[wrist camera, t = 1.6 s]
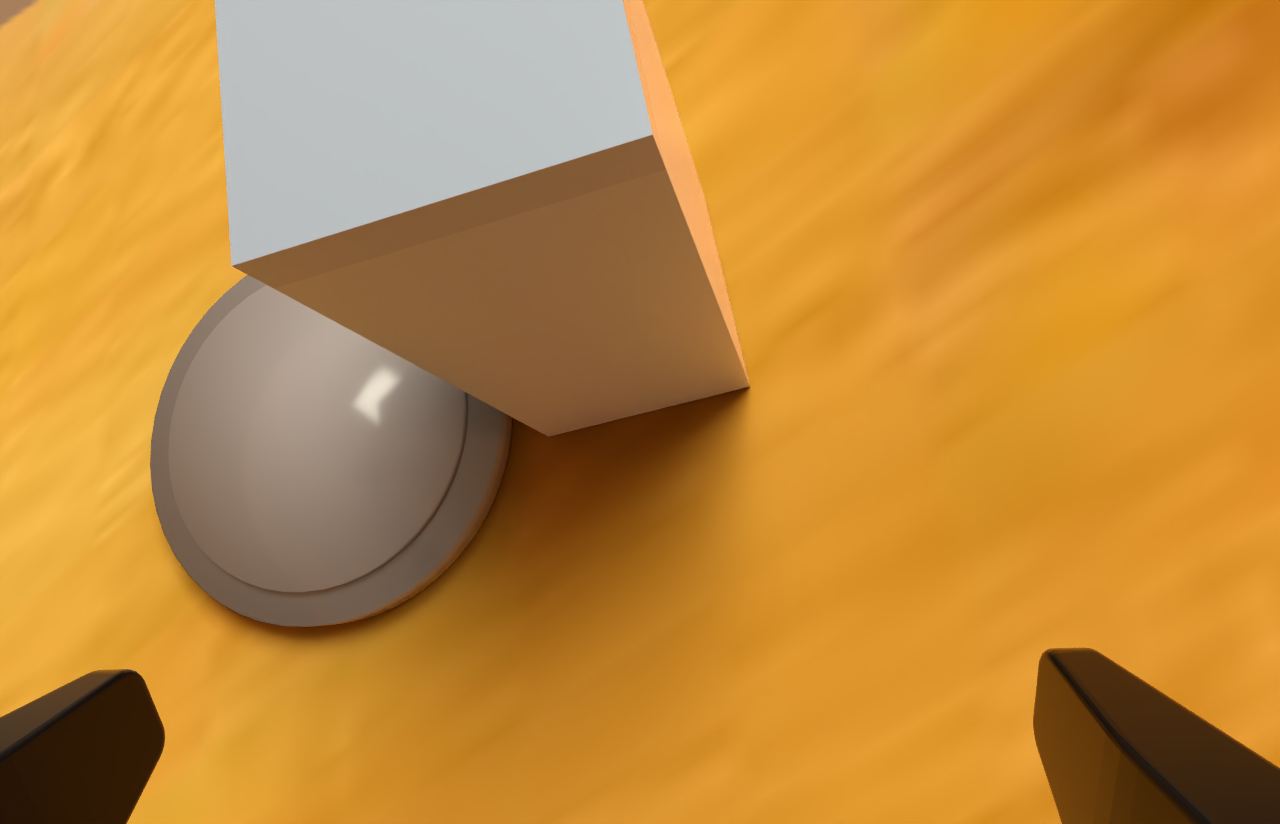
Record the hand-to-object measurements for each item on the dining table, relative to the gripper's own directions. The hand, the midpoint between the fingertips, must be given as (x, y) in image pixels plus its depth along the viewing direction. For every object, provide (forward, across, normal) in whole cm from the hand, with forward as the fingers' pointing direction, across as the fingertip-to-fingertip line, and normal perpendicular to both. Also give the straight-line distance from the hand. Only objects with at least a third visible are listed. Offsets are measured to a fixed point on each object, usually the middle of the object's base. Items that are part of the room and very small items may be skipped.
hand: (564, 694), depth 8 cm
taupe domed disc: (+14, +10, +3) cm, 17 cm away
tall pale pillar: (+15, +1, 0) cm, 15 cm away
